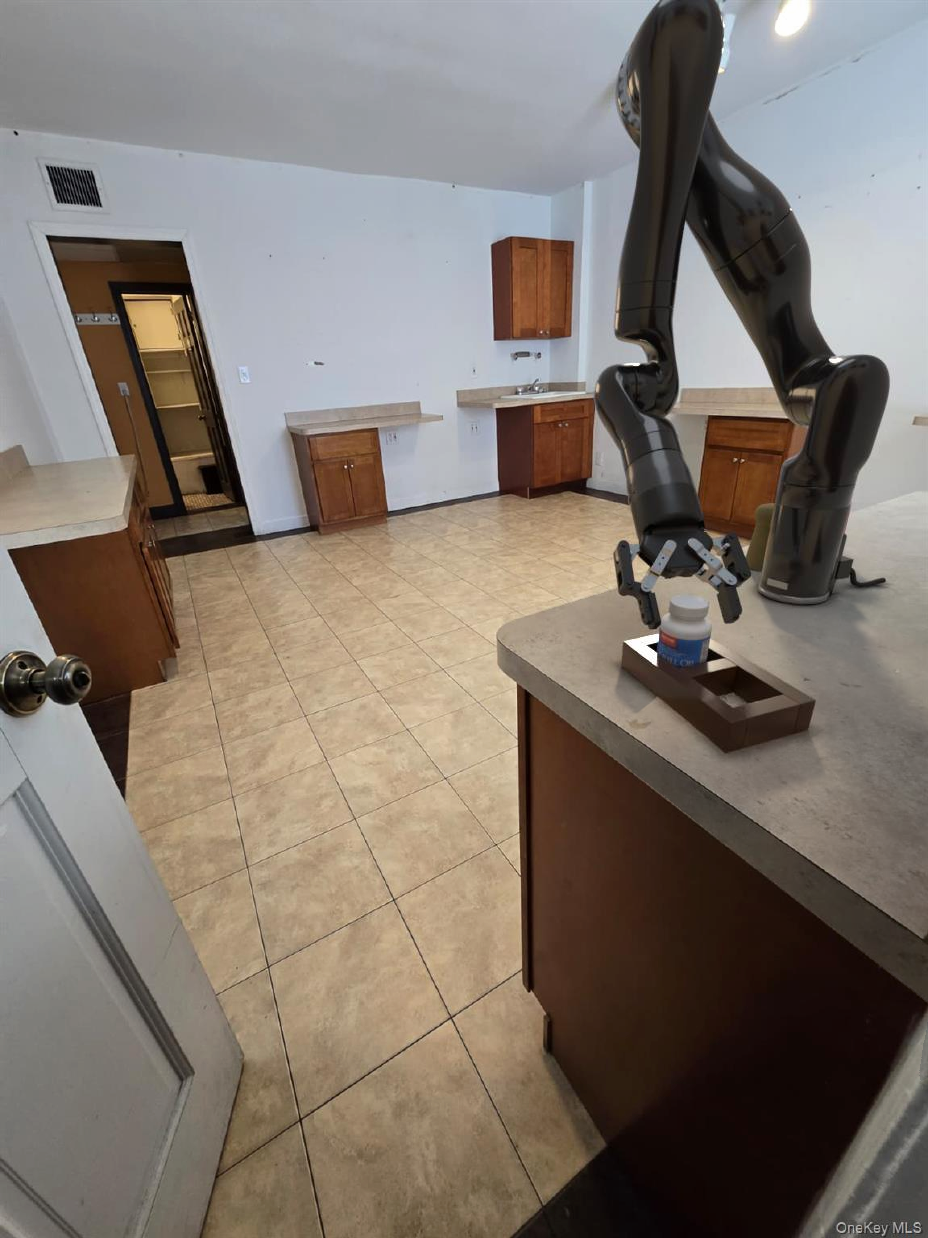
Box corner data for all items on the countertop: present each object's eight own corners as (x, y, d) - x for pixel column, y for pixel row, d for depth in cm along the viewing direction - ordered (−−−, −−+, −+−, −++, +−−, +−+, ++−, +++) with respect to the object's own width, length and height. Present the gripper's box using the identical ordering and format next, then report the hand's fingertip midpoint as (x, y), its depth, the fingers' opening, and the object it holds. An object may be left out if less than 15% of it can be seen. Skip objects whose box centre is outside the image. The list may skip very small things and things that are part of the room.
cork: (786, 571, 89) (800, 508, 84) (748, 571, 90) (759, 508, 85) (775, 560, 94) (786, 500, 89) (739, 560, 95) (749, 500, 91)
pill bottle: (647, 680, 60) (655, 604, 56) (662, 661, 64) (670, 588, 60) (696, 694, 57) (707, 614, 53) (709, 672, 61) (721, 597, 57)
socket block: (688, 651, 66) (691, 626, 64) (808, 730, 50) (816, 700, 49) (621, 666, 64) (622, 641, 62) (725, 753, 48) (731, 722, 47)
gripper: (611, 484, 58) (640, 617, 53) (735, 475, 58) (777, 606, 53) (596, 519, 65) (620, 640, 60) (707, 511, 65) (741, 630, 60)
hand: (694, 624), depth 56 cm, fingers open, 8 cm apart
